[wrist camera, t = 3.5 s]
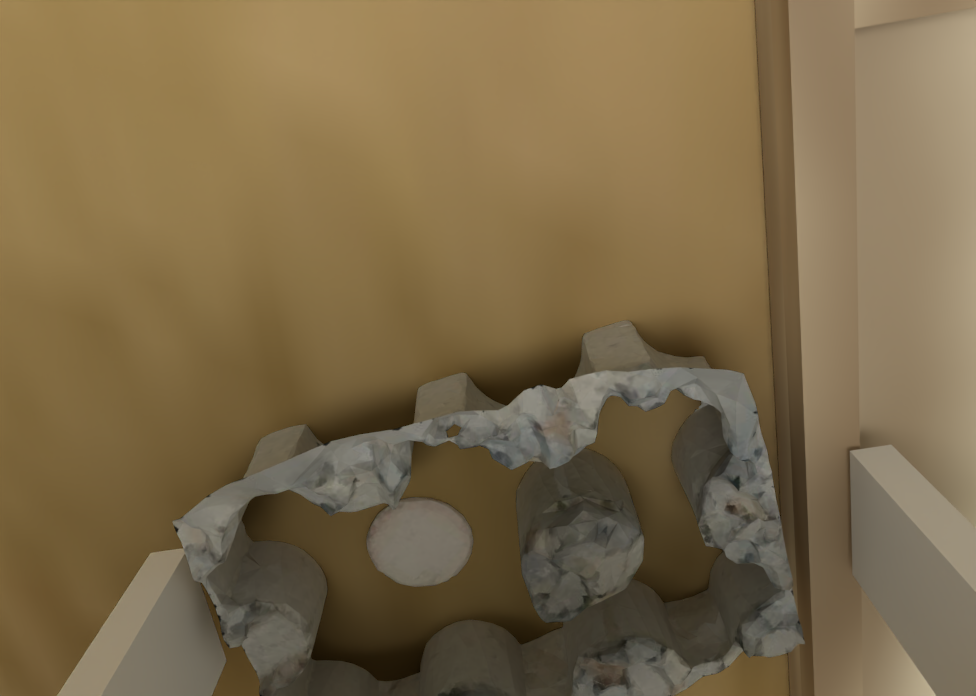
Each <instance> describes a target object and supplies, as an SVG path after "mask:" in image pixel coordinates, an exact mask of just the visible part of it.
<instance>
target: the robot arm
mask: <svg viewBox="0 0 976 696" xmlns="http://www.w3.org/2000/svg"><path fill="white" fill-rule="evenodd" d="M850 486H851V531H852V574H853V576H854V577H855V579H856V580H857V582H858V583H859V585H860V586H861V587H862V589H863V590H864V592H865V593H866V595H867V596H868V598H869V599H870V600H871V602H872V603H873V605H874V606H875V608H876V609H877V611H878V612H879V613H880V615H881V616H882V618H883V619H884V621H885V622H886V624H887V625H888V626H889V628H890V629H891V631H892V632H893V634H894V635H895V637H896V638H897V639H898V641H899V642H900V644H901V645H902V647H903V648H904V650H905V651H906V652H907V654H908V655H909V657H910V658H911V660H912V661H913V663H914V664H915V665H916V667H917V668H918V670H919V671H920V673H921V674H922V676H923V677H924V678H925V680H926V681H927V683H928V684H929V686H930V687H931V689H932V690H933V691H934V693H935V694H936V696H976V528H975V527H974V526H973V525H972V524H971V523H970V522H969V521H968V520H967V519H966V518H965V517H964V516H963V515H962V514H961V513H960V512H959V511H958V510H957V509H956V508H955V507H954V506H953V505H952V504H951V503H950V502H949V501H948V500H947V499H946V498H945V497H944V496H943V495H942V494H941V493H940V492H939V491H938V490H937V489H936V488H935V487H934V486H933V485H932V484H931V483H930V482H929V481H928V480H927V479H926V478H925V477H924V476H923V475H922V474H921V473H920V472H919V471H918V470H917V469H915V468H914V467H913V466H912V465H911V464H910V463H909V462H908V461H907V460H906V459H905V458H904V457H903V456H902V455H901V454H900V453H899V452H898V451H897V450H896V449H895V448H894V447H893V446H892V445H885V446H878V447H871V448H865V449H858V450H852V451H850ZM226 661H227V660H226V657H225V654H224V651H223V648H222V645H221V642H220V639H219V636H218V633H217V631H216V628H215V625H214V622H213V619H212V616H211V613H210V610H209V607H208V604H207V601H206V598H205V595H204V592H203V589H202V586H201V583H200V582H196V581H194V579H193V577H192V573H191V570H190V567H189V564H188V561H187V558H186V555H185V552H184V549H183V548H181V549H174V550H167V551H160V552H153V553H150V554H149V556H148V557H147V559H146V561H145V562H144V564H143V565H142V567H141V568H140V570H139V571H138V573H137V574H136V576H135V577H134V579H133V580H132V582H131V583H130V585H129V586H128V588H127V589H126V591H125V593H124V594H123V596H122V597H121V599H120V600H119V602H118V603H117V605H116V606H115V608H114V609H113V611H112V612H111V614H110V615H109V617H108V618H107V620H106V622H105V623H104V625H103V626H102V628H101V629H100V631H99V632H98V634H97V635H96V637H95V638H94V640H93V641H92V643H91V644H90V646H89V647H88V649H87V650H86V652H85V654H84V655H83V657H82V658H81V660H80V661H79V663H78V664H77V666H76V667H75V669H74V670H73V672H72V673H71V675H70V676H69V678H68V679H67V681H66V683H65V684H64V686H63V687H62V689H61V690H60V692H59V693H58V695H57V696H212V694H213V692H214V689H215V687H216V685H217V682H218V680H219V677H220V675H221V673H222V670H223V668H224V666H225V663H226Z"/></svg>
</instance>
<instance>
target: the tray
mask: <svg viewBox="0 0 976 696" xmlns="http://www.w3.org/2000/svg"><path fill="white" fill-rule="evenodd" d="M755 14H756V34H757V53H758V73H759V93H760V112H761V132H762V152H763V171H764V191H765V211H766V230H767V250H768V270H769V290H770V309H771V329H772V349H773V368H774V388H775V408H776V427H777V447H778V467H779V486H780V506H781V524H782V531H783V537H784V543H785V548H786V553H787V557H788V562H789V566H790V570H791V575H792V579H793V587H792V589H793V594H794V600H795V604H796V609H797V614H798V618H799V621H800V624H801V627H802V631H803V637H804V641H805V644H798V645H797V646H796V647H795V648H794V649H793V650H792V651H791V652H789V653H788V664H789V683H790V696H936V694H935V693H934V691H933V690H932V689H931V687H930V686H929V684H928V683H927V681H926V680H925V678H924V677H923V676H922V674H921V673H920V671H919V670H918V668H917V667H916V665H915V664H914V663H913V661H912V660H911V658H910V657H909V655H908V654H907V652H906V651H905V650H904V648H903V647H902V645H901V644H900V642H899V641H898V639H897V638H896V637H895V635H894V634H893V632H892V631H891V629H890V628H889V626H888V625H887V624H886V622H885V621H884V619H883V618H882V616H881V615H880V613H879V612H878V611H877V609H876V608H875V606H874V605H873V603H872V602H871V600H870V599H869V598H868V596H867V595H866V593H865V592H864V590H863V589H862V587H861V586H860V585H859V583H858V582H857V580H856V579H855V577H854V576H853V574H852V531H851V486H850V451H852V450H858V449H865V448H871V447H878V446H885V445H892V446H893V447H894V448H895V449H896V450H897V451H898V452H899V453H900V454H901V455H902V456H903V457H904V458H905V459H906V460H907V461H908V462H909V463H910V464H911V465H912V466H913V467H914V468H915V469H917V470H918V471H919V472H920V473H921V474H922V475H923V476H924V477H925V478H926V479H927V480H928V481H929V482H930V483H931V484H932V485H933V486H934V487H935V488H936V489H937V490H938V491H939V492H940V493H941V494H942V495H943V496H944V497H945V498H946V499H947V500H948V501H949V502H950V503H951V504H952V505H953V506H954V507H955V508H956V509H957V510H958V511H959V512H960V513H961V514H962V515H963V516H964V517H965V518H966V519H967V520H968V521H969V522H970V523H971V524H972V525H973V526H974V527H975V528H976V0H755Z"/></svg>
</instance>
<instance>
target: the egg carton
mask: <svg viewBox="0 0 976 696" xmlns="http://www.w3.org/2000/svg"><path fill="white" fill-rule="evenodd" d="M674 389H677V390H678V391H680V392H681V393H682V394H683V395H685V396H687V397H689V398H692V399H694V400H700V401H701V406H699V409H695V411H694V413H693V414H692V415H690V416H689V417H688V418H687V420H686V421H685V422H684V423H683V425H682V426H681V428H680V429H679V431H678V433H677V435H676V437H675V439H674V441H673V445H672V454H671V456H672V464H673V467H674V470H675V472H676V475H677V477H678V479H679V481H680V483H681V485H682V487H683V490H684V492H685V494H686V496H687V498H688V500H689V502H690V504H691V507H692V509H693V511H694V514H695V516H696V519H697V523H698V526H699V529H700V532H701V535H702V537H703V540H704V543H705V545H706V546H710V547H715V548H720V549H723V552H722V553H721V554H720V555H719V556H718V557H717V559H716V560H715V562H714V564H713V567H712V569H711V571H710V580H709V587H708V589H707V590H705V591H703V592H701V593H699V594H697V595H694V596H692V597H689V598H685V599H683V600H677V601H671V602H666V603H664V602H663V601H662V600H661V598H660V597H659V596H658V594H657V593H656V592H655V591H654V590H653V589H652V588H650V587H649V586H647V585H645V584H644V583H642V582H640V581H637V580H634V579H632V578H633V576H634V575H635V573H636V571H637V570H638V568H639V566H640V565H641V563H642V561H643V552H644V536H643V533H642V530H643V529H642V530H641V527H640V524H639V522H640V521H638V519H639V518H637V517H638V515H637V516H636V514H637V512H636V513H635V511H636V510H634V509H635V507H633V506H634V504H633V501H632V498H631V495H630V493H629V490H628V487H627V484H626V481H625V479H624V478H623V476H622V474H621V472H620V471H619V470H618V468H617V467H616V466H615V465H614V464H613V463H612V462H611V461H610V460H609V459H607V458H606V457H605V456H603V455H601V454H599V453H597V452H595V451H592V450H590V449H586V448H585V447H586V446H587V445H590V444H592V443H595V439H596V435H597V429H598V419H599V413H600V411H601V409H602V407H603V405H604V403H605V401H606V399H607V398H608V397H610V396H611V395H613V396H619V397H621V398H622V399H623V400H624V401H625V402H626V403H627V404H628V406H638V407H639V408H641V409H642V410H644V411H645V412H646V411H649V410H651V409H654V408H657V407H659V406H661V405H663V404H664V403H665V401H666V399H667V397H668V395H669V393H670V391H672V390H674ZM454 424H456V425H458V426H460V427H462V428H461V430H460V432H459V434H458V436H454V437H450V438H448V435H447V433H446V431H447V430H448V429H449V428H450V427H451V426H453V425H454ZM449 440H450V441H451V442H453V443H455V444H457V445H458V446H459V448H460V449H465V448H471V447H477V446H482V447H485V448H487V449H489V451H490V454H491V456H492V459H494V460H496V461H497V462H499V463H501V464H502V465H504V466H506V467H507V468H509V469H511V470H513V469H515V468H517V467H519V466H521V465H523V464H525V463H527V462H528V461H535V462H534V463H533V464H532V465H531V466H530V468H529V469H528V470H527V472H526V473H525V475H524V477H523V479H522V480H521V482H520V484H519V486H518V488H517V491H516V510H517V520H518V534H519V545H520V556H521V567H522V576H523V578H524V581H525V584H526V586H527V589H528V592H529V594H530V597H531V600H532V603H533V607H534V608H535V610H536V612H537V613H538V615H539V617H540V618H541V619H542V620H543V621H544V622H546V623H549V622H563V627H561V628H560V629H557V630H554V631H551V632H549V633H547V634H545V635H543V636H541V637H539V638H537V639H535V640H533V641H530V642H528V643H525V644H519V643H518V641H517V640H516V638H515V637H514V636H513V635H512V634H510V633H509V632H508V631H507V630H506V629H504V628H503V627H500V626H498V625H495V624H493V623H489V622H484V621H479V620H464V621H458V622H455V623H453V624H450V625H448V626H446V627H444V628H443V629H441V630H440V631H438V632H437V633H435V634H434V635H433V636H432V638H431V639H430V640H429V641H428V642H427V643H426V646H425V649H424V653H423V656H422V659H421V668H420V672H419V673H417V674H414V675H411V676H408V677H405V678H402V679H399V680H394V681H378V680H376V679H375V678H374V677H373V676H372V675H371V674H370V673H369V672H368V671H367V670H365V669H363V668H361V667H359V666H357V665H355V664H352V663H348V662H344V661H328V660H322V661H316V660H313V659H312V658H311V653H312V650H313V646H314V643H315V639H316V635H317V631H318V627H319V623H320V620H321V616H322V612H323V607H324V603H325V599H326V596H327V590H328V588H327V581H326V578H325V575H324V573H323V571H322V569H321V567H320V566H319V565H318V564H317V562H316V561H315V560H314V559H313V558H312V557H311V556H310V555H309V554H307V553H306V552H305V551H304V550H302V549H300V548H298V547H297V546H295V545H291V544H288V543H284V542H277V541H257V542H253V541H252V540H251V539H250V538H249V537H248V535H247V533H246V531H245V527H244V524H243V522H242V520H241V519H242V516H243V514H244V512H245V510H246V508H247V505H248V503H249V501H250V500H251V499H253V498H254V497H256V496H260V495H265V494H277V493H280V492H283V491H286V490H291V491H293V492H295V493H298V494H300V495H302V496H303V497H304V498H306V499H307V500H309V501H310V502H311V503H313V504H315V505H318V506H320V507H321V508H323V509H324V510H325V511H326V512H327V513H328V514H329V515H330V516H332V515H333V514H335V513H337V512H356V511H360V510H364V509H367V508H370V507H373V506H376V505H379V504H382V503H386V504H389V505H388V506H387V507H386V508H384V509H383V510H382V511H380V512H379V514H378V515H377V516H376V518H375V519H374V521H373V522H372V524H371V527H370V529H369V532H368V534H367V549H368V552H369V555H370V558H371V560H372V562H373V563H374V565H375V567H376V568H377V570H378V571H380V572H383V573H384V574H385V576H388V577H389V578H391V579H392V580H394V581H395V582H396V583H399V584H403V585H408V586H413V587H421V586H434V585H437V584H439V583H441V582H446V581H448V580H449V579H450V578H451V577H452V576H456V575H457V574H458V573H459V572H460V570H461V569H462V568H463V567H464V566H465V565H466V563H467V561H468V559H469V557H470V555H471V554H472V547H473V535H472V529H471V527H470V525H469V524H468V522H467V521H466V519H465V517H464V516H463V515H462V514H461V513H460V512H458V511H457V510H456V509H455V508H453V507H452V506H451V505H449V504H448V503H445V502H442V501H439V500H436V499H433V498H422V497H411V498H405V499H401V497H402V495H403V493H404V491H405V489H406V487H407V486H408V484H409V482H410V479H411V457H412V451H413V445H414V441H420V442H424V443H425V444H426V445H429V446H434V447H435V446H437V445H440V444H442V443H444V442H447V441H449ZM172 522H173V525H174V527H175V530H176V533H177V535H178V537H179V539H180V541H181V543H182V546H183V549H184V552H185V555H186V558H187V561H188V564H189V567H190V570H191V573H192V577H193V579H194V581H196V582H200V583H203V585H204V587H205V588H206V590H207V592H208V594H209V596H210V598H211V600H212V602H213V604H214V606H215V609H216V612H217V615H218V617H219V621H220V625H221V632H222V636H223V639H224V641H225V642H226V644H227V645H228V647H229V648H234V647H239V646H240V645H242V647H243V649H244V651H245V653H246V655H247V657H248V659H249V660H250V662H251V664H252V666H253V668H254V669H255V671H256V673H257V676H258V678H259V682H260V689H259V695H260V696H674V695H676V694H678V693H680V692H682V691H683V690H685V689H687V688H688V687H690V686H691V685H692V684H693V683H695V682H696V681H697V680H699V679H700V678H701V677H703V676H707V675H712V674H716V673H719V672H721V671H722V670H724V669H725V668H727V667H728V666H730V665H731V663H732V662H733V661H734V660H735V659H736V658H737V657H738V656H739V655H740V654H741V653H742V651H744V652H745V654H746V655H747V656H748V657H751V656H765V657H774V656H779V655H782V654H786V653H789V652H791V651H792V650H793V649H794V648H795V647H796V646H797V645H798V644H805V641H804V637H803V631H802V627H801V624H800V621H799V618H798V614H797V609H796V604H795V600H794V594H793V589H792V587H793V579H792V575H791V570H790V566H789V562H788V557H787V553H786V548H785V543H784V537H783V531H782V524H781V519H780V514H779V509H778V505H777V501H776V495H775V489H774V484H773V478H772V471H771V467H770V464H769V460H768V452H767V448H766V446H765V443H764V440H763V437H762V434H761V430H760V425H759V418H758V413H757V408H756V404H755V401H754V399H753V396H752V394H751V391H750V389H749V386H748V384H747V381H746V379H745V376H744V374H743V373H739V372H735V371H731V370H721V369H711V367H710V366H709V364H708V362H707V361H706V359H705V358H704V357H703V356H695V357H678V356H673V355H669V354H665V353H661V352H658V351H656V350H655V349H654V348H652V347H651V346H650V345H648V344H647V343H646V342H644V340H643V339H642V338H641V337H640V335H639V334H638V332H637V330H636V328H635V326H633V324H632V322H630V321H629V320H625V321H620V322H617V323H613V324H610V325H607V326H604V327H601V328H598V329H595V330H593V331H590V332H587V333H585V334H584V336H583V339H582V355H581V361H580V364H579V367H578V370H577V373H576V375H575V377H574V378H572V379H569V380H568V381H567V382H566V384H565V385H564V386H563V387H562V388H557V389H555V388H551V387H548V386H545V385H541V384H540V385H538V386H535V387H532V388H530V389H527V390H524V391H523V392H522V393H521V394H519V395H518V396H517V397H516V398H515V399H514V400H513V401H512V402H511V403H510V404H509V405H507V406H506V405H503V404H500V403H498V402H496V401H494V400H492V399H490V398H489V397H487V396H486V395H484V394H483V393H482V392H481V391H480V390H479V389H477V388H476V386H475V385H474V383H473V382H472V380H471V379H470V378H469V376H468V375H467V374H466V373H459V374H455V375H451V376H448V377H445V378H442V379H439V380H436V381H432V382H429V383H426V384H425V385H422V386H421V387H419V388H418V393H417V400H416V408H415V417H414V423H413V424H411V425H408V426H404V427H400V428H397V429H393V430H386V431H380V432H373V433H367V434H360V435H356V436H351V437H347V438H343V439H339V440H334V441H330V442H328V443H326V444H323V443H321V442H320V441H319V440H318V439H317V438H316V437H315V435H314V434H313V433H312V432H311V430H310V429H309V428H308V426H307V425H306V424H304V425H297V426H292V427H288V428H285V429H282V430H279V431H276V432H273V433H271V434H269V435H267V436H265V437H263V438H261V440H260V441H259V443H258V445H257V447H256V450H255V453H254V456H253V459H252V461H251V463H250V465H249V467H248V470H247V472H246V474H245V475H244V477H243V479H240V480H238V481H235V482H233V483H230V484H228V485H225V486H224V487H222V488H220V489H219V490H217V491H215V492H213V493H212V494H210V495H208V496H207V497H206V498H205V499H203V500H202V501H201V502H200V503H199V504H197V505H196V506H195V507H194V508H193V509H191V510H190V511H189V512H188V513H186V514H185V515H184V516H183V517H182V518H180V519H178V520H174V521H172Z"/></svg>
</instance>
